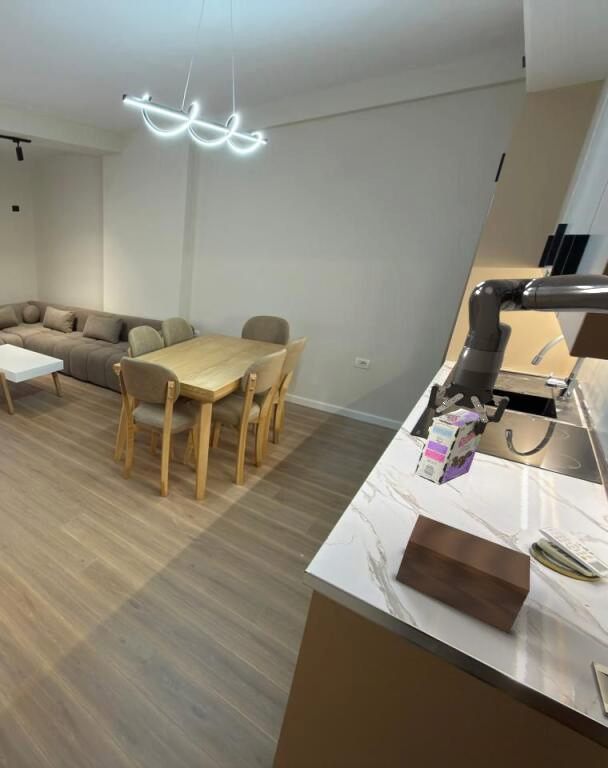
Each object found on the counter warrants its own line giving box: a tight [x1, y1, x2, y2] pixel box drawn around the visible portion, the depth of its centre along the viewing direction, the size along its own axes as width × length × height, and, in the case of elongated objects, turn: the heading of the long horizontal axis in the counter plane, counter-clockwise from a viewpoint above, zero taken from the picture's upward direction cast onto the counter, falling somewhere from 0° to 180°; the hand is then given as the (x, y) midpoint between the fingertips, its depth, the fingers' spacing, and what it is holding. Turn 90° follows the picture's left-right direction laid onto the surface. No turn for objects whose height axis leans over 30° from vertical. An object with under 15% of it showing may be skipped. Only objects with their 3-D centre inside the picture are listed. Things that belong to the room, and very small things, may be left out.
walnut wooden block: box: [395, 513, 531, 635], centre depth 84 cm, size 18×12×11 cm, turn 44°
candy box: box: [414, 408, 482, 486], centre depth 99 cm, size 14×6×16 cm, turn 115°
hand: (456, 429), depth 98 cm, fingers closed on candy box, 7 cm apart
